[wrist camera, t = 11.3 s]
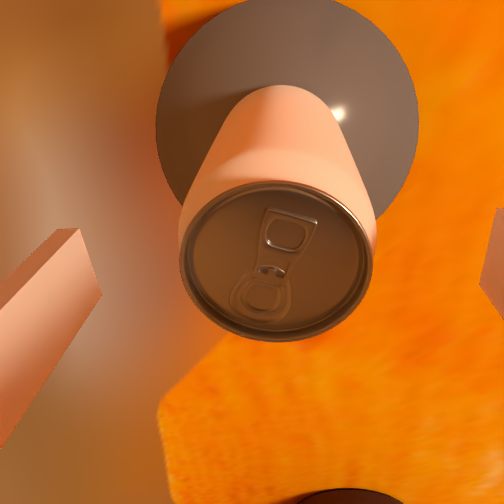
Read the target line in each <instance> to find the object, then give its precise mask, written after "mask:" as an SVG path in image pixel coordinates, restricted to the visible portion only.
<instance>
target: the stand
mask: <svg viewBox="0 0 504 504" xmlns="http://www.w3.org/2000/svg"><path fill="white" fill-rule="evenodd" d="M274 85H289V86H295V87H299V88H302V89H304V90H307V91H309V92H311V93H312V94H314V95H315V96H317V97H318V98H320V99H321V100H322V101H323V102H324V103H325V104H326V105H327V106H328V108H329V109H330V110H331V112H332V113H333V115H334V117H335V118H336V120H337V122H338V125H339V127H340V129H341V131H342V134H343V136H344V138H345V140H346V143H347V145H348V148H349V150H350V152H351V155H352V157H353V159H354V162H355V164H356V167H357V169H358V171H359V174H360V176H361V179H362V181H363V184H364V186H365V189H366V191H367V194H368V196H369V199H370V202H371V205H372V208H373V211H374V216H375V220H376V219H377V218H378V217H379V216H380V215H382V214H383V213H384V211H385V210H386V209H387V208H388V206H389V205H390V204H391V203H392V202H393V200H394V199H395V197H396V196H397V194H398V192H399V191H400V189H401V188H402V186H403V184H404V182H405V180H406V178H407V176H408V173H409V171H410V168H411V165H412V162H413V159H414V156H415V152H416V146H417V141H418V131H419V113H418V102H417V97H416V93H415V89H414V84H413V82H412V79H411V76H410V74H409V71H408V69H407V66H406V64H405V63H404V61H403V59H402V57H401V56H400V54H399V52H398V50H397V49H396V48H395V46H394V45H393V44H392V43H391V41H390V40H389V39H388V38H387V36H386V35H385V34H384V33H383V32H382V31H381V30H380V29H379V28H378V27H376V26H375V25H374V24H373V23H372V22H371V21H370V20H368V19H367V18H365V17H364V16H362V15H361V14H359V13H358V12H356V11H355V10H353V9H351V8H349V7H347V6H344V5H342V4H340V3H338V2H336V1H332V0H248V1H245V2H242V3H239V4H237V5H235V6H233V7H231V8H229V9H227V10H225V11H223V12H221V13H220V14H218V15H217V16H215V17H214V18H213V19H211V20H210V21H208V22H207V23H206V24H204V25H203V26H202V27H201V28H200V29H199V30H198V31H197V32H196V33H195V34H194V35H193V36H192V37H191V38H190V39H189V40H188V41H187V43H186V44H185V45H184V47H183V48H182V49H181V50H180V52H179V53H178V54H177V56H176V58H175V60H174V62H173V63H172V65H171V67H170V69H169V70H168V73H167V75H166V78H165V81H164V83H163V86H162V89H161V93H160V97H159V101H158V105H157V115H156V142H157V149H158V155H159V159H160V162H161V166H162V169H163V172H164V174H165V177H166V179H167V182H168V184H169V186H170V188H171V189H172V191H173V193H174V195H175V196H176V198H177V199H178V201H179V202H180V204H181V205H182V206H183V204H184V201H185V199H186V197H187V194H188V192H189V190H190V188H191V186H192V184H193V182H194V180H195V177H196V175H197V173H198V171H199V170H200V168H201V166H202V164H203V162H204V160H205V158H206V156H207V154H208V152H209V150H210V148H211V146H212V144H213V142H214V140H215V138H216V136H217V135H218V133H219V131H220V129H221V127H222V125H223V123H224V122H225V120H226V118H227V116H228V115H229V113H230V112H231V110H232V109H233V108H234V107H235V106H236V104H237V103H238V102H240V101H241V100H242V99H243V98H244V97H246V96H247V95H249V94H250V93H252V92H254V91H256V90H258V89H261V88H264V87H268V86H274Z"/></svg>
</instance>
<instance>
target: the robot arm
mask: <svg viewBox="0 0 504 504" xmlns="http://www.w3.org/2000/svg"><path fill="white" fill-rule="evenodd" d="M479 285H480V286H481V288H482V289H483V291H484V292H485V293H486V295H487V296H488V298H489V299H490V301H491V302H492V303H493V305H494V306H495V308H496V309H497V311H498V312H499V313H500V315H501V316H502V318H503V319H504V208H497V210H496V214H495V218H494V223H493V227H492V231H491V236H490V240H489V244H488V249H487V253H486V257H485V261H484V266H483V270H482V274H481V279H480V283H479ZM101 296H102V294H101V291H100V288H99V285H98V282H97V279H96V276H95V273H94V270H93V267H92V264H91V261H90V258H89V255H88V253H87V250H86V247H85V244H84V241H83V238H82V235H81V232H80V229H79V228H72V229H57V230H56V231H55V232H54V233H53V234H52V235H51V236H50V237H49V238H48V239H47V240H46V241H45V242H44V243H42V245H40V246H39V247H38V248H37V249H36V250H35V251H34V252H33V253H32V254H31V255H30V256H29V257H28V258H27V259H26V260H25V261H23V262H22V263H21V264H20V265H19V266H18V267H17V268H16V269H15V270H14V271H13V272H12V273H11V274H10V275H9V276H8V277H7V278H6V279H4V280H3V281H2V282H1V283H0V450H1V448H2V447H3V445H4V444H5V442H6V440H7V439H8V438H9V436H10V434H11V433H12V431H13V430H14V429H15V427H16V425H17V424H18V422H19V421H20V419H21V418H22V416H23V415H24V413H25V412H26V410H27V409H28V407H29V406H30V404H31V403H32V401H33V399H34V398H35V396H36V395H37V393H38V392H39V390H40V389H41V387H42V386H43V384H44V383H45V381H46V380H47V378H48V377H49V375H50V373H51V372H52V370H53V369H54V367H55V366H56V364H57V363H58V361H59V360H60V358H61V357H62V355H63V354H64V352H65V351H66V349H67V348H68V346H69V345H70V343H71V341H72V340H73V338H74V337H75V335H76V334H77V332H78V331H79V329H80V328H81V326H82V325H83V323H84V321H85V320H86V319H87V317H88V316H89V314H90V312H91V311H92V309H93V308H94V306H95V305H96V303H97V302H98V300H99V299H100V297H101ZM298 504H403V503H401V502H400V501H398V500H396V499H394V498H392V497H389V496H386V495H383V494H380V493H375V492H370V491H363V490H336V491H329V492H324V493H320V494H316V495H313V496H311V497H308V498H306V499H304V500H302V501H301V502H299V503H298Z"/></svg>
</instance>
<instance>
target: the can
mask: <svg viewBox="0 0 504 504" xmlns="http://www.w3.org/2000/svg"><path fill="white" fill-rule="evenodd" d="M178 241H179V249H180V254H179V265H180V273H181V278H182V281H183V284H184V286H185V289H186V291H187V293H188V295H189V296H190V298H191V299H192V301H193V303H194V304H195V305H196V306H197V308H198V309H199V310H200V311H201V312H202V313H203V314H204V315H205V316H206V317H207V318H209V319H210V320H211V321H212V322H214V323H216V324H217V325H218V326H220V327H222V328H223V329H225V330H227V331H229V332H231V333H234V334H236V335H239V336H241V337H245V338H248V339H252V340H257V341H264V342H292V341H299V340H303V339H307V338H311V337H314V336H317V335H319V334H322V333H324V332H326V331H328V330H330V329H332V328H333V327H335V326H337V325H338V324H340V323H341V322H342V321H344V320H345V319H346V318H347V317H348V316H349V315H350V314H351V313H352V312H353V311H354V310H355V309H356V308H357V307H358V305H359V304H360V302H361V301H362V299H363V298H364V296H365V294H366V292H367V290H368V287H369V284H370V281H371V277H372V270H373V257H374V254H375V249H376V242H377V229H376V221H375V216H374V211H373V208H372V205H371V202H370V199H369V196H368V194H367V191H366V189H365V186H364V184H363V181H362V179H361V176H360V174H359V171H358V169H357V167H356V164H355V162H354V159H353V157H352V155H351V152H350V150H349V148H348V145H347V143H346V140H345V138H344V136H343V134H342V131H341V129H340V127H339V125H338V122H337V120H336V118H335V117H334V115H333V113H332V112H331V110H330V109H329V108H328V106H327V105H326V104H325V103H324V102H323V101H322V100H321V99H320V98H318V97H317V96H315V95H314V94H312V93H311V92H309V91H307V90H304V89H302V88H299V87H295V86H289V85H274V86H268V87H264V88H261V89H258V90H256V91H254V92H252V93H250V94H249V95H247V96H246V97H244V98H243V99H242V100H241V101H240V102H238V103H237V104H236V106H235V107H234V108H233V109H232V110H231V112H230V113H229V115H228V116H227V118H226V120H225V122H224V123H223V125H222V127H221V129H220V131H219V133H218V135H217V136H216V138H215V140H214V142H213V144H212V146H211V148H210V150H209V152H208V154H207V156H206V158H205V160H204V162H203V164H202V166H201V168H200V170H199V171H198V173H197V175H196V177H195V180H194V182H193V184H192V186H191V188H190V190H189V192H188V194H187V197H186V199H185V201H184V204H183V207H182V210H181V214H180V219H179V225H178Z"/></svg>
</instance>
